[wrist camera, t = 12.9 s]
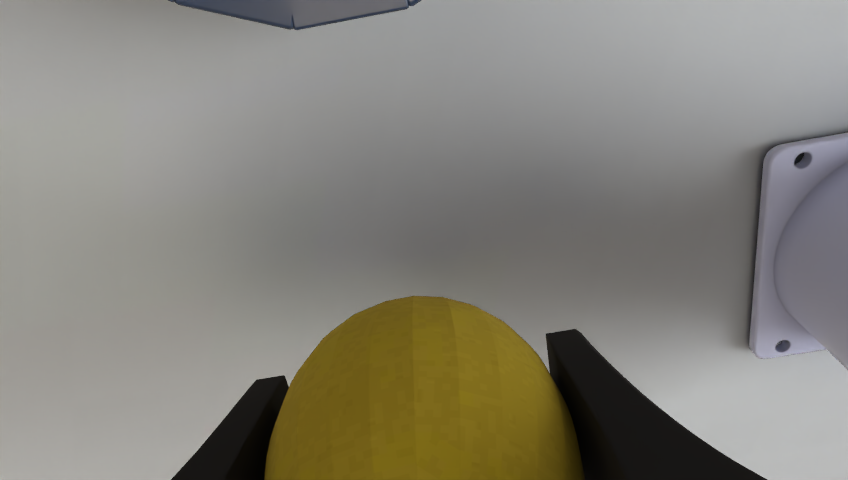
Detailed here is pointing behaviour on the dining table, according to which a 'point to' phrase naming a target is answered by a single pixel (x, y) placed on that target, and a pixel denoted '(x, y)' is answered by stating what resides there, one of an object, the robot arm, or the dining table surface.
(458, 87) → the dining table surface
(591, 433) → the robot arm
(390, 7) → the pot
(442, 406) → the lemon
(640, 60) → the dining table surface
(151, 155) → the dining table surface
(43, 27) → the dining table surface
